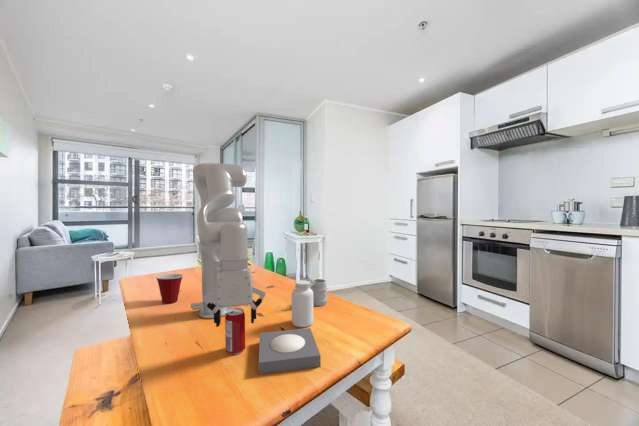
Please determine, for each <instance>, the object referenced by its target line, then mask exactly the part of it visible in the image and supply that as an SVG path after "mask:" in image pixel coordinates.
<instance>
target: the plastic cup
mask: <svg viewBox="0 0 639 426" xmlns="http://www.w3.org/2000/svg"><path fill="white" fill-rule="evenodd" d="M183 277H184V274H181V273H167V274H160V275H157V276H156V277H155V279H156V280H157V284H158V288H159V292H160V293H159V294H160V298H161V302H162V304H164V305H171V304H174V303H177V302H178V301H179V300H178V299H179V294H180V288H181V282H182V279H183Z"/></svg>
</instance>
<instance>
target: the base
mask: <svg viewBox="0 0 639 426" xmlns="http://www.w3.org/2000/svg"><path fill="white" fill-rule="evenodd" d="M258 347H259V348H258V375H263V374H262V373H266V374H272V373H271V372H273V373H280V372H279V371H281V372H286V371H285V370H289V371H296V370H304V369H311V368H318V367H321V366H322V365H321V364H322V363H321V362H322V361H321V360H322V359H321V353H320V351H319V348H318V345H317V341H316V339H315V337H314V334H313V331H312V329H311V327H308V328H307V327H305V328H300V329H299V328H298V329H289V330H279V331H267V332H259V346H258Z"/></svg>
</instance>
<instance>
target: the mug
mask: <svg viewBox="0 0 639 426" xmlns="http://www.w3.org/2000/svg"><path fill="white" fill-rule="evenodd" d="M306 279H307V280H306V281H309V282H310V289H311V290H312V291H313V307H323V306H326V305H327V304H328V301H329V299H328V298H329V297H328V296H327V290H328V287H327V280H326V279H322V278H315V279H312V280H311V279H310V278H306Z"/></svg>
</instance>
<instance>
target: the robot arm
mask: <svg viewBox="0 0 639 426" xmlns="http://www.w3.org/2000/svg"><path fill="white" fill-rule="evenodd" d="M192 175H193V182H194V184H195V188H196V190H197V192H198V195H199V199H200V208H199V209H198V212H197V218H196V223H197V224H196V225H197V233H198V235H197V236H198V241H199V242H198V247H199V248H198V249H199V253H200V262H201V289H202V290H201V292H202V293H201V296H202V297H201V298H202V300H201V301H199V302H192V303H191V304H190V309H192V311H195V310H198V312H197V313H198V315H197V316H199V317H200V318H203V319H213V324H215V327H216V328H219V327H220V325H221V321H222V319H221V317H225V316H226V312H227V311H228V310H229V309H233V307H239V306H248V305H249V306H250V324H254V323H255V320H257V309H258V307H259V306H260V305H261V304H262V302H263V300H264V298H265V297H266V292H265V291H263V290H262V289H259V288H257V287H254V286H253V276H252V271H251V268H250V267H249V255H248V253H249V252H248V251H249V250H248V247H249V245H248V227H247V224H246V223H244V217H243V213H242V211H241V210H240V209H239V208H238V207H230V206H231V205H232V204H233V203H234V202H235V197H236V196H235V192H234V188H243V187H245V186H246V184H247V181H248V180H247V179H248V177H247V175H248V174H247V171H246V169H245V168H244V166H242V165H240V164H230V163H215V162H214V163H213V162H203V163H202V162H201V163H197V164H195V166H194V167H193V170H192ZM254 294H256V295H257V296H258V295H259V296H258V298H257V299H256V300H254Z"/></svg>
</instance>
